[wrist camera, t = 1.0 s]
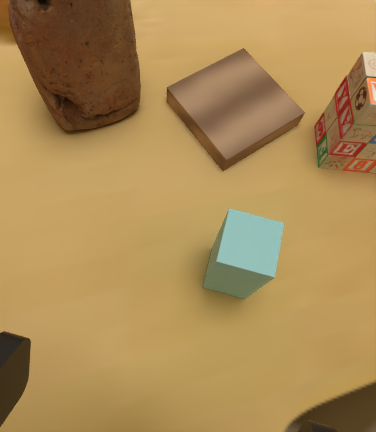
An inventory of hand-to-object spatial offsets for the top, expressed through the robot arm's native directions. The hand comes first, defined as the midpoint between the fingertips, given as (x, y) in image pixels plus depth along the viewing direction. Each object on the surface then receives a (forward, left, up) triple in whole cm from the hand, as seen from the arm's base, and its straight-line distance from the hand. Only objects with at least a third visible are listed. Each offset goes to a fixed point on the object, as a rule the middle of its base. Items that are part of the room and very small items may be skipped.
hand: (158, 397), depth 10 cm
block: (-30, +10, -26) cm, 41 cm away
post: (-4, +11, -26) cm, 28 cm away
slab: (-20, +24, -26) cm, 40 cm away
